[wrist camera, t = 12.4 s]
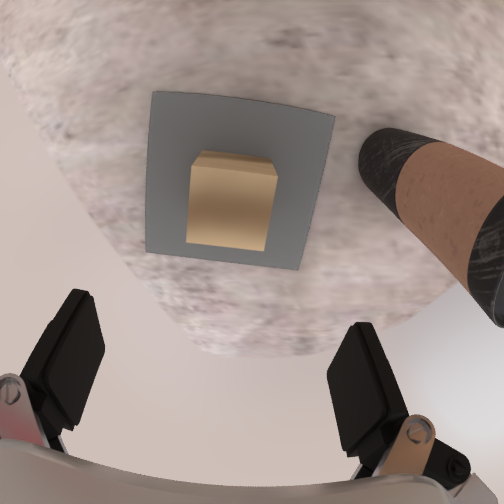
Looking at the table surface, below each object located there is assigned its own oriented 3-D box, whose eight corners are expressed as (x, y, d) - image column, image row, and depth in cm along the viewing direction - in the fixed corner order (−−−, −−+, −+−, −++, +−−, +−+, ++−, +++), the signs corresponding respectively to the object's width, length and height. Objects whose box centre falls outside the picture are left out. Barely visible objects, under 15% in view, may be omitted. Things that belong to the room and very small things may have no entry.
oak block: (202, 150, 25) (191, 165, 20) (270, 158, 26) (277, 176, 20) (196, 212, 28) (186, 242, 23) (259, 220, 29) (263, 251, 23)
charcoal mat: (155, 91, 23) (152, 91, 22) (332, 115, 25) (335, 116, 24) (148, 247, 31) (145, 252, 30) (296, 265, 32) (298, 270, 32)
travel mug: (361, 204, 29) (475, 350, 12) (348, 131, 25) (507, 219, 8) (422, 189, 28) (554, 302, 11) (416, 120, 24) (583, 189, 7)
